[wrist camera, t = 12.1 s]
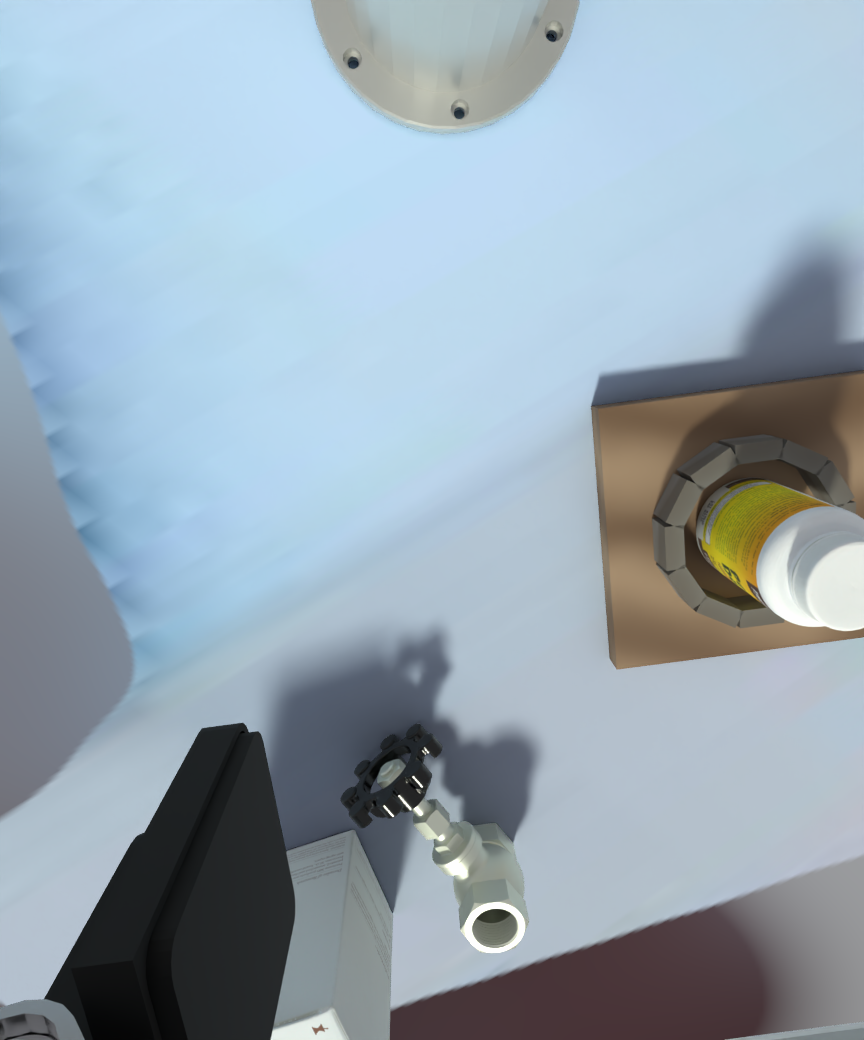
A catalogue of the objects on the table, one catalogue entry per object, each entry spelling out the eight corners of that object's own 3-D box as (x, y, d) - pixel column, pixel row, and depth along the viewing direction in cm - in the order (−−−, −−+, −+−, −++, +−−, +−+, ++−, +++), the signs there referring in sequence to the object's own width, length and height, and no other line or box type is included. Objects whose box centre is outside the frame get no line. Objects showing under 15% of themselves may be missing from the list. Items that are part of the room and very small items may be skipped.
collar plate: (591, 406, 39) (608, 412, 36) (864, 370, 39) (908, 372, 36) (609, 658, 43) (626, 685, 39) (860, 625, 43) (899, 650, 39)
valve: (544, 840, 46) (430, 705, 43) (565, 921, 39) (434, 768, 37) (461, 894, 47) (345, 765, 44) (469, 982, 40) (333, 838, 38)
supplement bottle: (673, 549, 40) (761, 619, 30) (724, 458, 38) (833, 499, 28) (759, 588, 40) (873, 669, 30) (811, 500, 39) (948, 554, 29)
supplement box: (246, 860, 45) (185, 1052, 33) (356, 825, 45) (336, 1006, 33) (290, 951, 47) (247, 1165, 35) (396, 917, 47) (391, 1122, 34)
